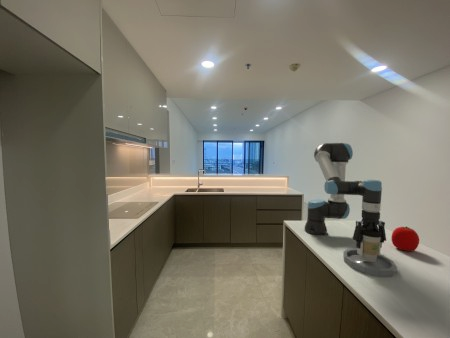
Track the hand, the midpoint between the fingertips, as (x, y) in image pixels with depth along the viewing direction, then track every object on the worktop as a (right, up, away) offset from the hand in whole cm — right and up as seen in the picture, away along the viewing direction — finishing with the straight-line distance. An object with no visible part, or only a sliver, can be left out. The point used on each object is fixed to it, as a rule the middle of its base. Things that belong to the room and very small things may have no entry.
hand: (368, 254), depth 101 cm
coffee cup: (0, -3, 0) cm, 3 cm away
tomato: (+34, -5, +17) cm, 38 cm away
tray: (0, -5, 0) cm, 5 cm away
